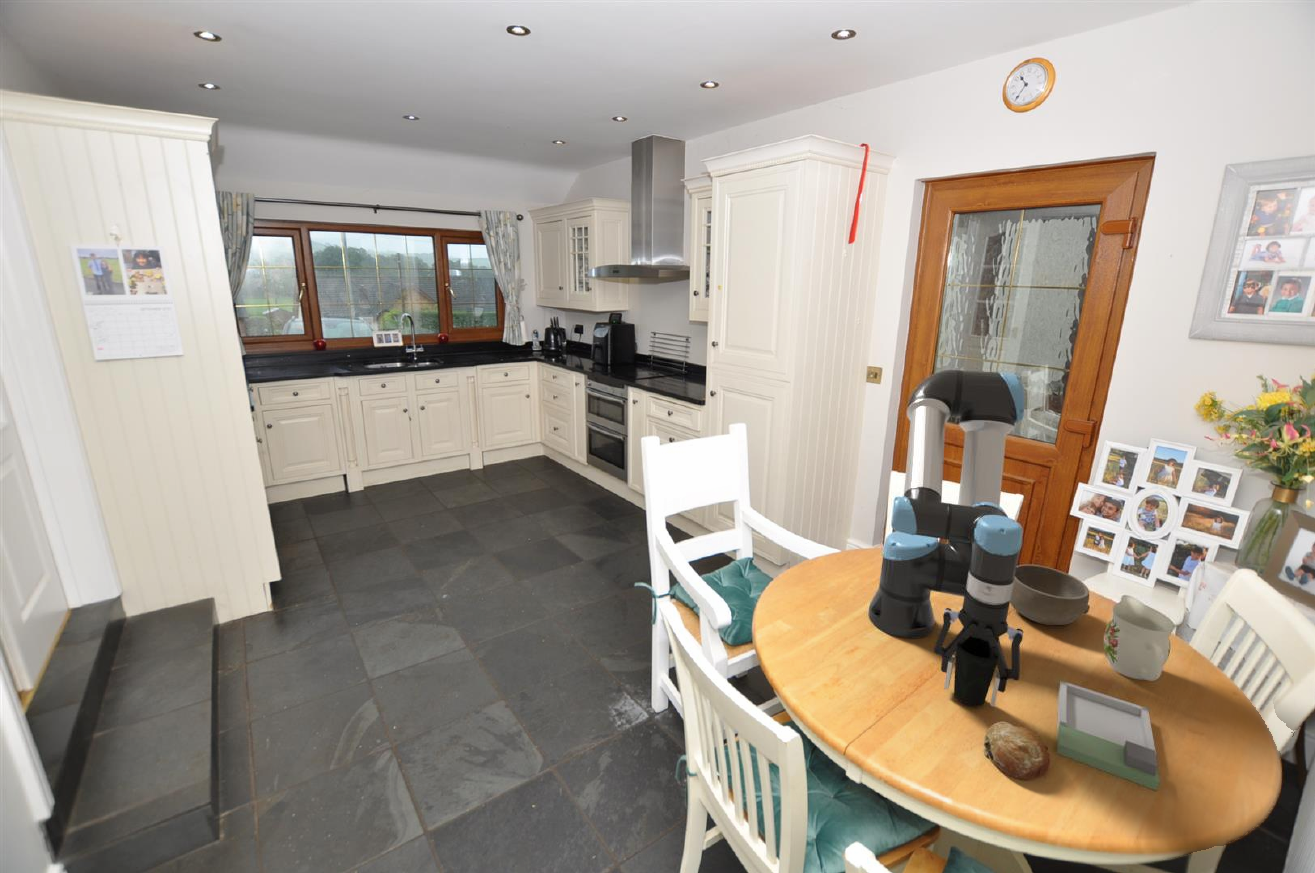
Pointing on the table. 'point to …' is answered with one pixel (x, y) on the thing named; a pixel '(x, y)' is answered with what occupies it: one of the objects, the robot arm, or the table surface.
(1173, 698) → the table surface
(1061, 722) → the green and grey tray
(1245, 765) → the table surface
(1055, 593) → the bowl
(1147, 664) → the pitcher
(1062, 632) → the table surface
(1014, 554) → the robot arm
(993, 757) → the bread roll
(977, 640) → the cup
